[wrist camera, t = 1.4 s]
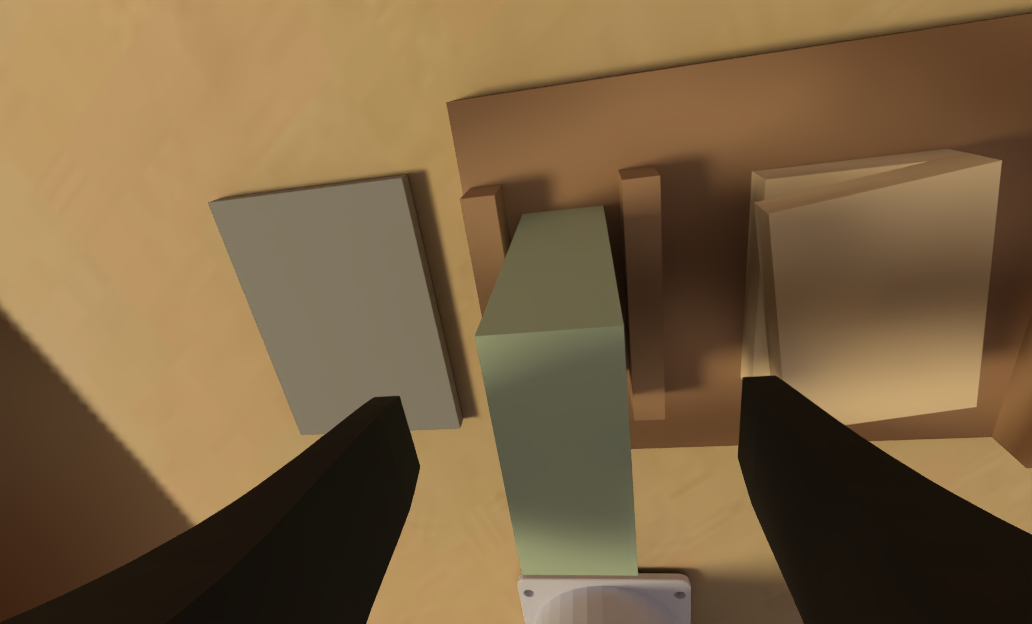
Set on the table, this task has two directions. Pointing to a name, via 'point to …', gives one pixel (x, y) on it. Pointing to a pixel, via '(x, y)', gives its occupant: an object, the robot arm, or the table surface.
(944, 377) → the upper offcut
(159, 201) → the table surface
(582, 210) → the sage green box
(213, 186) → the table surface
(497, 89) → the table surface
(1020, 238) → the rack
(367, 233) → the mat
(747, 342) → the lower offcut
